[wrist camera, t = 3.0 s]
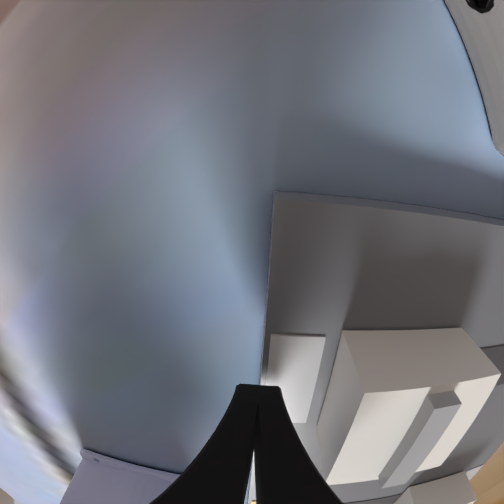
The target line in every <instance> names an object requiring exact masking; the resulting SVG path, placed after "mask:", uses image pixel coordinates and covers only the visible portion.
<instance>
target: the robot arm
mask: <svg viewBox="0 0 504 504" xmlns="http://www.w3.org/2000/svg"><path fill="white" fill-rule="evenodd" d="M253 452H254V465H255V489H256V504H344V503H343V502H342V501H341V500H340V499H339V498H338V497H337V495H336V494H335V493H334V492H333V490H332V489H331V488H330V487H329V485H328V484H327V483H326V481H325V480H324V478H323V477H322V476H321V474H320V473H319V471H318V470H317V468H316V467H315V465H314V463H313V462H312V460H311V458H310V457H309V455H308V453H307V452H306V450H305V448H304V446H303V444H302V442H301V440H300V438H299V436H298V434H297V432H296V430H295V428H294V426H293V423H292V421H291V419H290V416H289V414H288V411H287V408H286V405H285V402H284V399H283V395H282V391H281V388H280V387H279V386H268V385H251V384H239V385H237V386H236V389H235V393H234V395H233V398H232V400H231V402H230V405H229V407H228V409H227V411H226V413H225V414H224V416H223V418H222V420H221V421H220V423H219V425H218V426H217V428H216V430H215V431H214V433H213V434H212V436H211V437H210V439H209V440H208V442H207V443H206V444H205V446H204V447H203V449H202V450H201V451H200V453H199V454H198V455H197V457H196V458H195V459H194V460H193V461H192V463H191V464H190V465H189V466H188V467H187V468H186V469H185V471H184V472H183V473H182V474H181V475H179V474H174V473H169V472H164V471H159V470H155V469H150V468H146V467H142V466H138V465H134V464H131V463H127V462H123V461H120V460H116V459H113V458H110V457H107V456H103V455H100V454H97V453H94V452H92V451H89V450H86V449H81V451H80V454H81V456H82V458H83V459H82V461H81V463H80V464H79V466H78V468H77V470H76V472H75V474H74V476H73V478H72V480H71V482H70V484H69V486H68V488H67V490H66V492H65V494H64V496H63V498H62V500H61V502H60V504H244V500H245V495H246V490H247V484H248V479H249V474H250V468H251V463H252V457H253Z"/></svg>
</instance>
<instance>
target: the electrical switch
mask: <svg viewBox="0 0 504 504" xmlns="http://www.w3.org/2000/svg"><path fill="white" fill-rule="evenodd" d="M444 1H445V3H446V5H447V7H448V9H449V11H450V13H451V15H452V17H453V19H454V21H455V23H456V25H457V28H458V30H459V32H460V35H461V37H462V39H463V42H464V44H465V47H466V49H467V52H468V54H469V57H470V60H471V63H472V65H473V68H474V71H475V74H476V77H477V80H478V84H479V87H480V90H481V93H482V97H483V101H484V104H485V108H486V112H487V116H488V120H489V124H490V129H491V134H492V139H493V143H494V146H495V148H496V149H497V150H498V151H499V152H500V153H501V154H502V155H503V156H504V0H444Z"/></svg>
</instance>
